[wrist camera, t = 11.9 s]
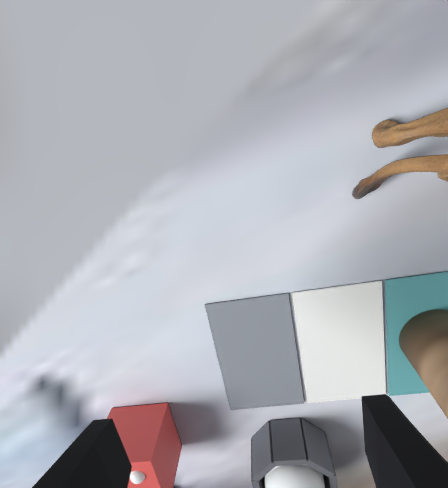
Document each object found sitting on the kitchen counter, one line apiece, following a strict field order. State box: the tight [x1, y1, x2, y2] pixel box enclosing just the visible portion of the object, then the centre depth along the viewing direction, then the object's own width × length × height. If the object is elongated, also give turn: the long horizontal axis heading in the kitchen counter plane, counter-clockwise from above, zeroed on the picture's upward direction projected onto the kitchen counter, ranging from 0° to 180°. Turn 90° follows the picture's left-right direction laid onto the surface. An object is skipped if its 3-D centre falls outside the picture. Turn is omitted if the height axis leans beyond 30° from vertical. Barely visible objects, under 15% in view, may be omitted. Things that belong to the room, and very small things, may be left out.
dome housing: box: [251, 418, 337, 488], centre depth 21 cm, size 5×5×3 cm
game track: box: [205, 272, 448, 410], centre depth 19 cm, size 15×8×1 cm, turn 101°
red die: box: [107, 403, 182, 488], centre depth 20 cm, size 4×4×4 cm
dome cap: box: [265, 464, 325, 488], centre depth 20 cm, size 4×4×4 cm
